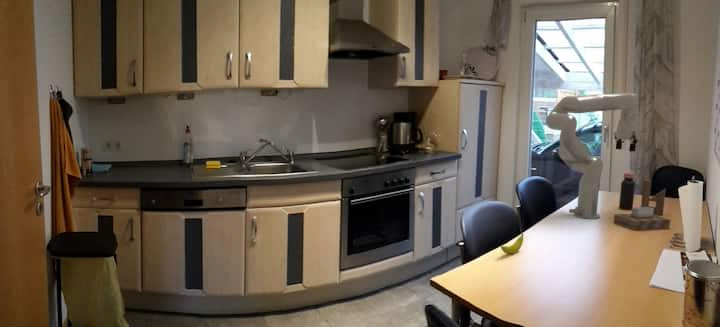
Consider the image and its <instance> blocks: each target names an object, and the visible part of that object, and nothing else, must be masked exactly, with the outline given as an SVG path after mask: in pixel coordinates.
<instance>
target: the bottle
mask: <svg viewBox="0 0 720 327" xmlns="http://www.w3.org/2000/svg"><path fill="white" fill-rule="evenodd" d="M634 177H635V174H634V173H630V172H624V173H623V180H622V181H621V184H620V193H619V204H618V205H619V206H618V209H619V210H624V211H632V207H634V198H635V189H636V183H635V182H634Z"/></svg>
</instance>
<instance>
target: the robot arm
mask: <svg viewBox="0 0 720 327" xmlns="http://www.w3.org/2000/svg"><path fill="white" fill-rule="evenodd" d="M638 106H639V95H638V94H637V93H628V92H614V93H611V94H604V93H603V94H590V95H589V94H588V95H577V96H571V95H570V96H569V95H567V96H564V97H562V98H561V99H560V100H559V102H557V103H556V105H555V106H554V107H553V109H551V111H550V112H549V114H548V115H547V117H546V120H545V124H546V126H547V127H548V129H551V130H555V131H560V134H559V140H558V142H559V144H560V145H559V146H558V149H557V150H558V156H559V157H560V159H561V160H562V161H563V162H564V163H565V164H566V165H567V166H568V168H570V169H571V170H572V171H573V172H576V173H581V174H582V176H581V177H580V179H579V182H578V183H579V184H578V193H577V194H578V197H577V206H575V208H570V209H568V212H569V214H570V213H571V214H573V216H575V217H577V218H579V219H580V218H581V219H588V220H597V219H600V218H601V215H600V214H599V213H598V206H599V196H600V195H599V191H600V182H601V176H602V172H603V169H604V162H603V160H602V159H601V158H599V157H598V156H595V155H590V151H589V149H588V147H587V146H586V144H584V143H583V142H582V141H581V140H580V139H579V138H578V136H577V134H576V133H577V132H576V130H577V126H578V125H577V124H578V122H577V121H578V120H577V118H576V117H575V116H574V115H572V114H586V113H587V114H588V113H594V112H595V113H596V112H607V111H616V110H617V111H618V110H620V116H619V117H620V119H618V122H617V126H616V127H617V128H616V131H615V132H614V133H613V137H614V139H615V150H622V147H623V142H622V141H623V140H626V141H627V140H629V141H630V143H629V149H628V151H629V152H636V148H637V147H636V145H637V144H638V142H639V141H640V138H641V135H639V133H638V121H637V116H638V115H637V114H638Z"/></svg>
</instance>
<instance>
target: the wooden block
mask: <svg viewBox="0 0 720 327" xmlns="http://www.w3.org/2000/svg"><path fill="white" fill-rule="evenodd" d="M651 185H652V180H650V179H643V185H642V194H641V205H640V206H639V207H650V208H654V211H653V215H656V216H660V217H663V215H664V208H665V197H666V190H667V189H666V188H664V189H662V190H661V191H660V192H658V193H657V194H655V195H653V196H652V197H651V188H652V186H651ZM650 197H651V198H650ZM650 202H655V206H652V205H651V206H650V205H649V204H650Z"/></svg>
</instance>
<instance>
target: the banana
mask: <svg viewBox="0 0 720 327" xmlns="http://www.w3.org/2000/svg"><path fill="white" fill-rule="evenodd" d="M524 235H525V234H524V233H522V234H521V235H520V236H519V237H518V238H517V239H516V241H515V242H514V243H513V244H512V245H508V246H506V245H501V246H500V250H502V252H503V253H504V254H507V255H511V254H516V253H517V252H519V250H520V249H521V247H522V246H523V243H524Z"/></svg>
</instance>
